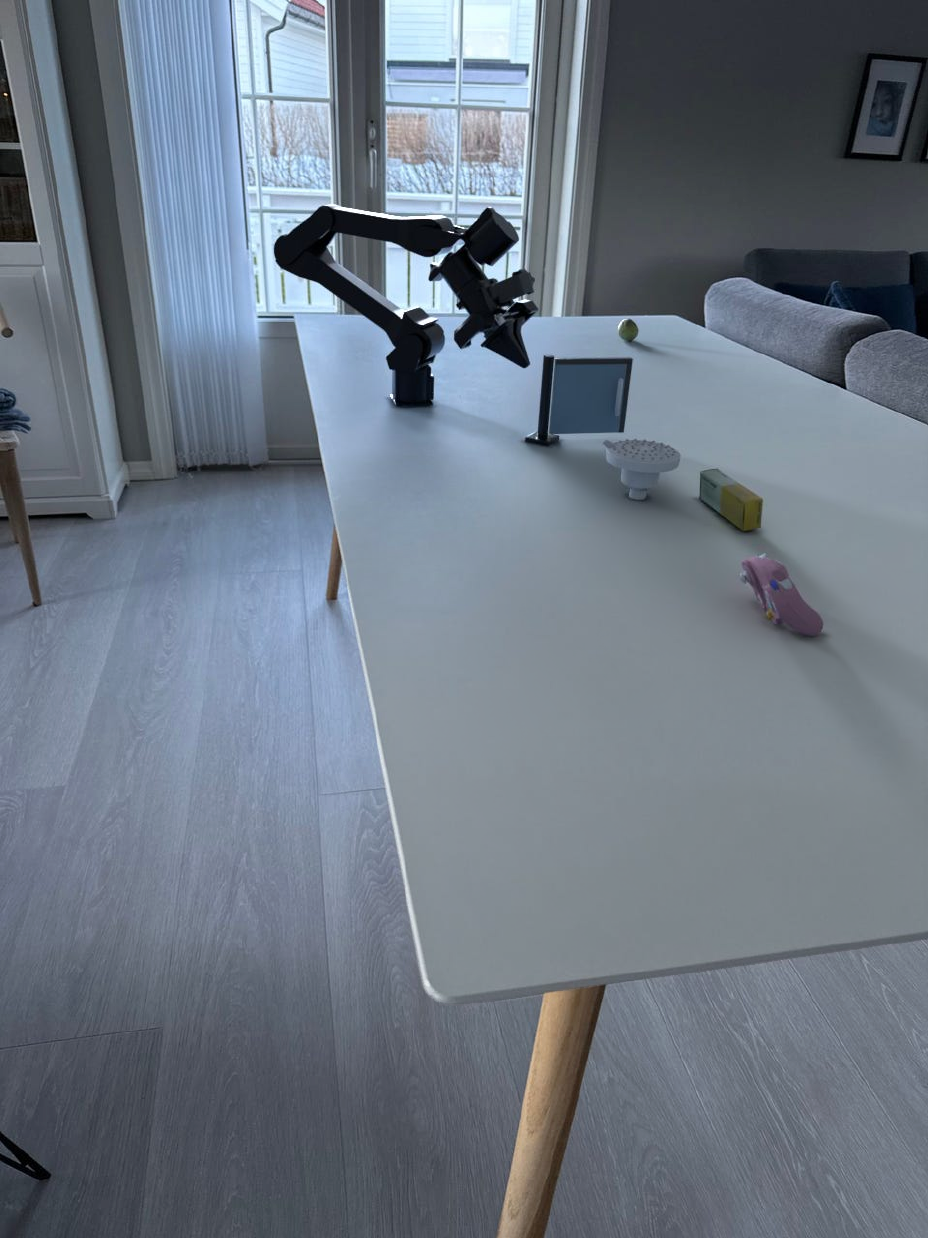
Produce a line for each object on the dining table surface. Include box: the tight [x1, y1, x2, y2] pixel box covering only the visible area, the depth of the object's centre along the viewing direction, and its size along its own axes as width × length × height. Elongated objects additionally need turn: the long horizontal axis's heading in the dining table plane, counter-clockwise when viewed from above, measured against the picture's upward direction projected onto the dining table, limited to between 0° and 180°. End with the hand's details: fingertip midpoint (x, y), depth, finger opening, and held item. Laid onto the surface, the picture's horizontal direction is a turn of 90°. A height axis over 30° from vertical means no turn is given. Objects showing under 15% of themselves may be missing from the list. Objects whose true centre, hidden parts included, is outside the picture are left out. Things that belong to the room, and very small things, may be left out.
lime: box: [617, 318, 639, 342], centre depth 212 cm, size 4×5×5 cm
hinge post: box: [524, 354, 560, 448], centre depth 136 cm, size 4×4×13 cm
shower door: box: [548, 356, 634, 435], centre depth 137 cm, size 2×12×11 cm, turn 102°
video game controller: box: [739, 552, 824, 637], centre depth 89 cm, size 10×5×7 cm, turn 5°
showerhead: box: [602, 438, 681, 501], centre depth 117 cm, size 9×7×10 cm
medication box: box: [698, 468, 764, 532], centre depth 113 cm, size 12×3×4 cm, turn 13°
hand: (527, 366), depth 144 cm, fingers closed
